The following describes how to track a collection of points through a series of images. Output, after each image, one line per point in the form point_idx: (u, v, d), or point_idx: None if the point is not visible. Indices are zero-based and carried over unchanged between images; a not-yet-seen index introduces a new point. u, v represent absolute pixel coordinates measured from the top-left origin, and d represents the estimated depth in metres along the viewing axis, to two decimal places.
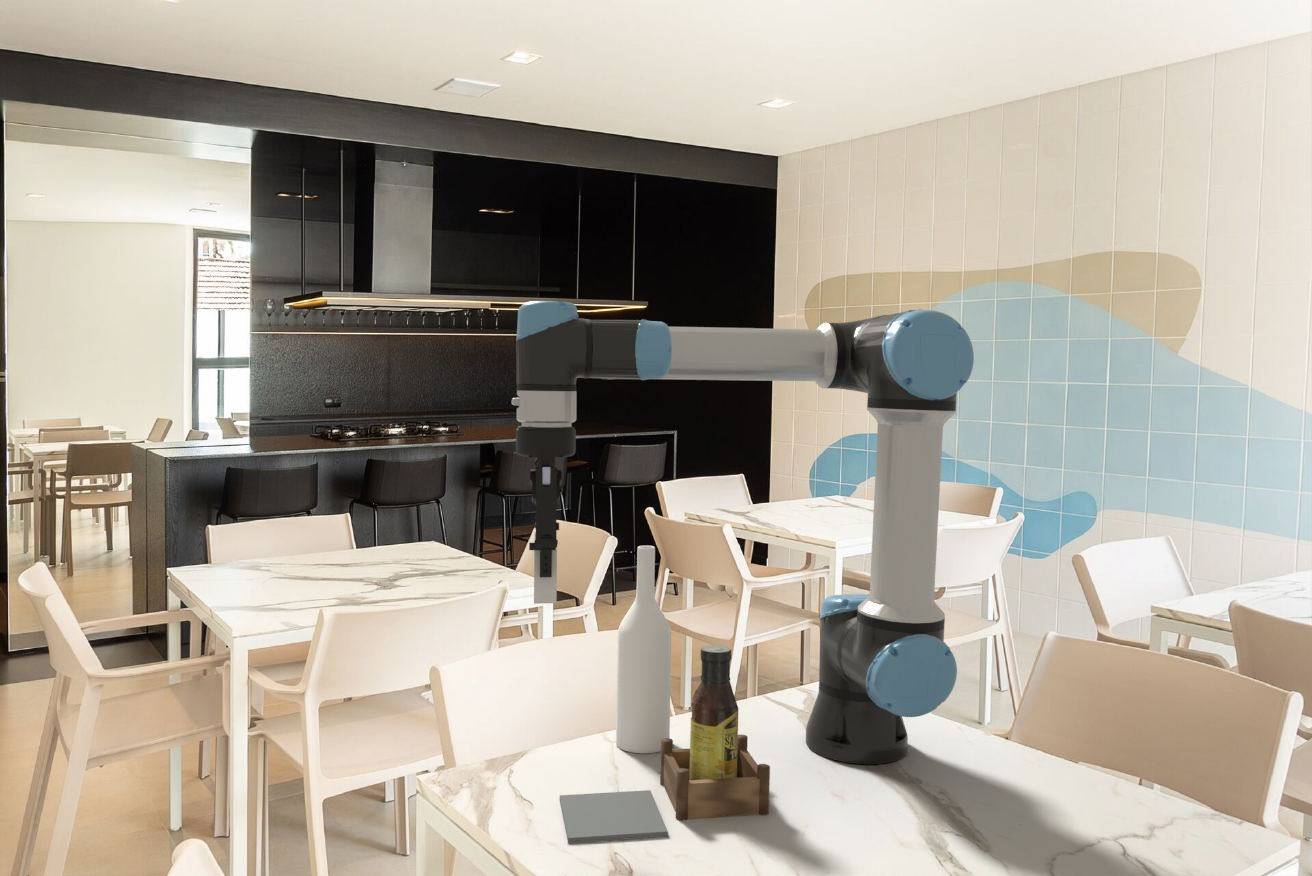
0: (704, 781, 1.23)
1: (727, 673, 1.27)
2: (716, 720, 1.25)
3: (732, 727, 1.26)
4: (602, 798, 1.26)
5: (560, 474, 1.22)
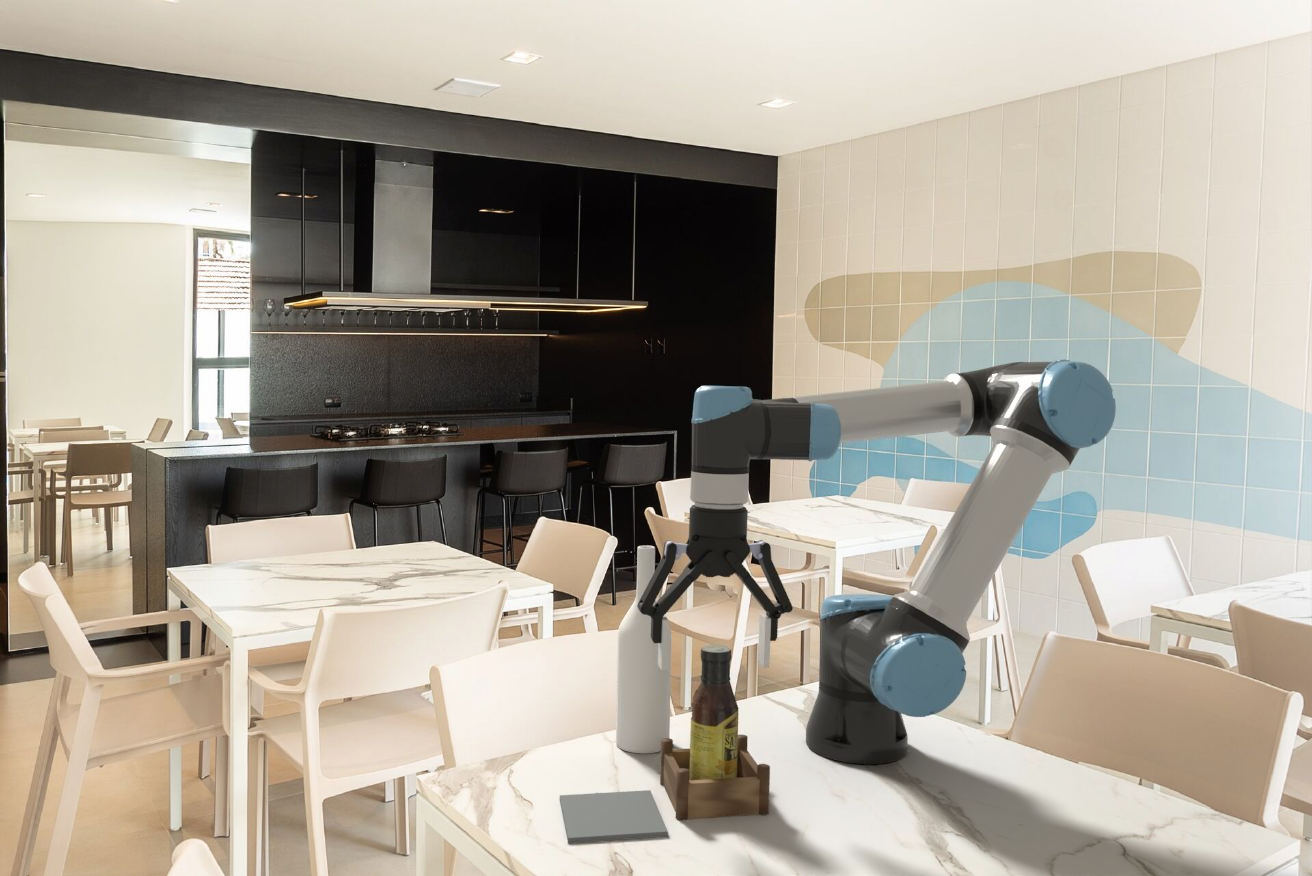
0: (704, 781, 1.23)
1: (727, 673, 1.27)
2: (717, 720, 1.25)
3: (732, 727, 1.26)
4: (602, 798, 1.26)
5: (706, 554, 1.25)
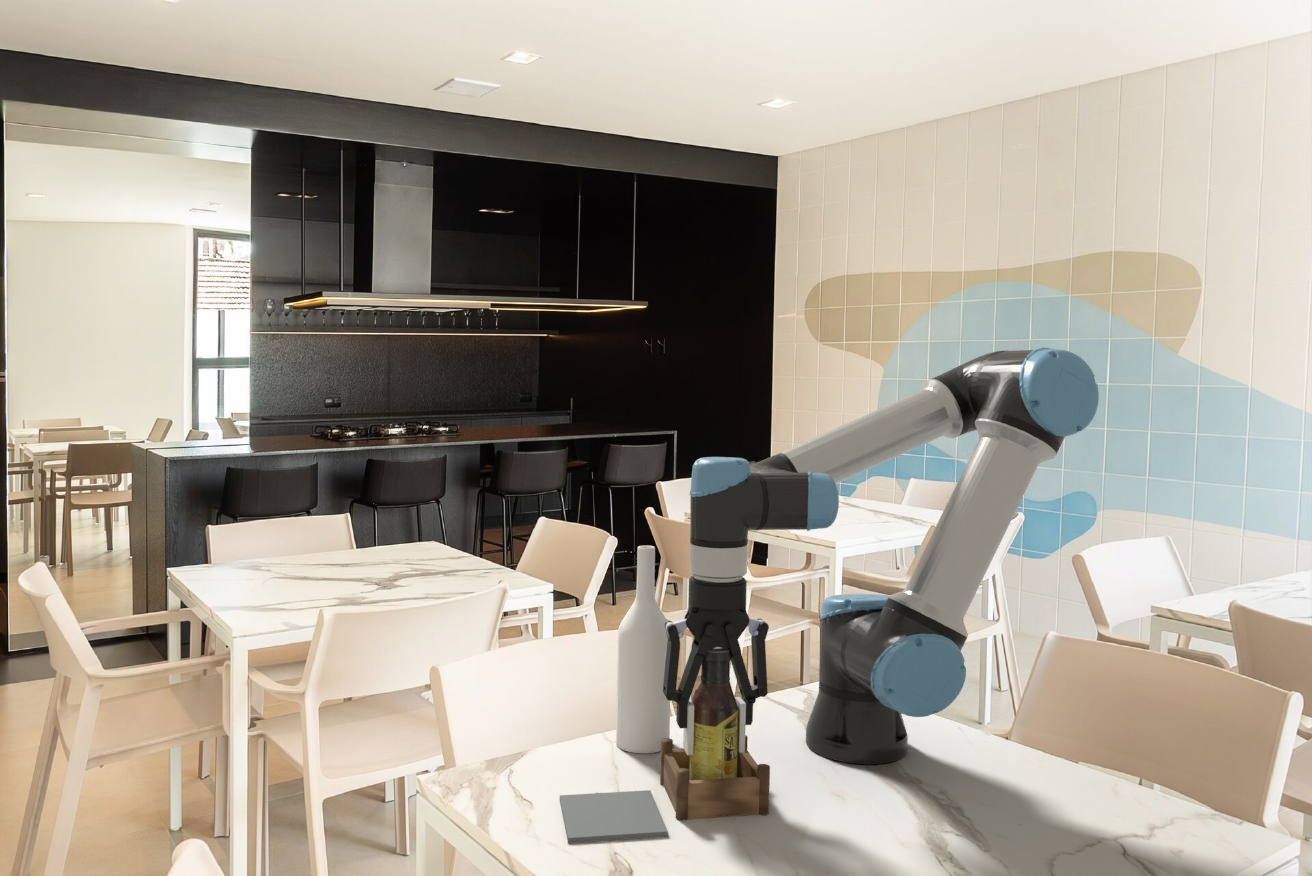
0: (704, 781, 1.23)
1: (727, 673, 1.27)
2: (716, 720, 1.25)
3: (732, 727, 1.26)
4: (602, 798, 1.26)
5: (705, 628, 1.25)
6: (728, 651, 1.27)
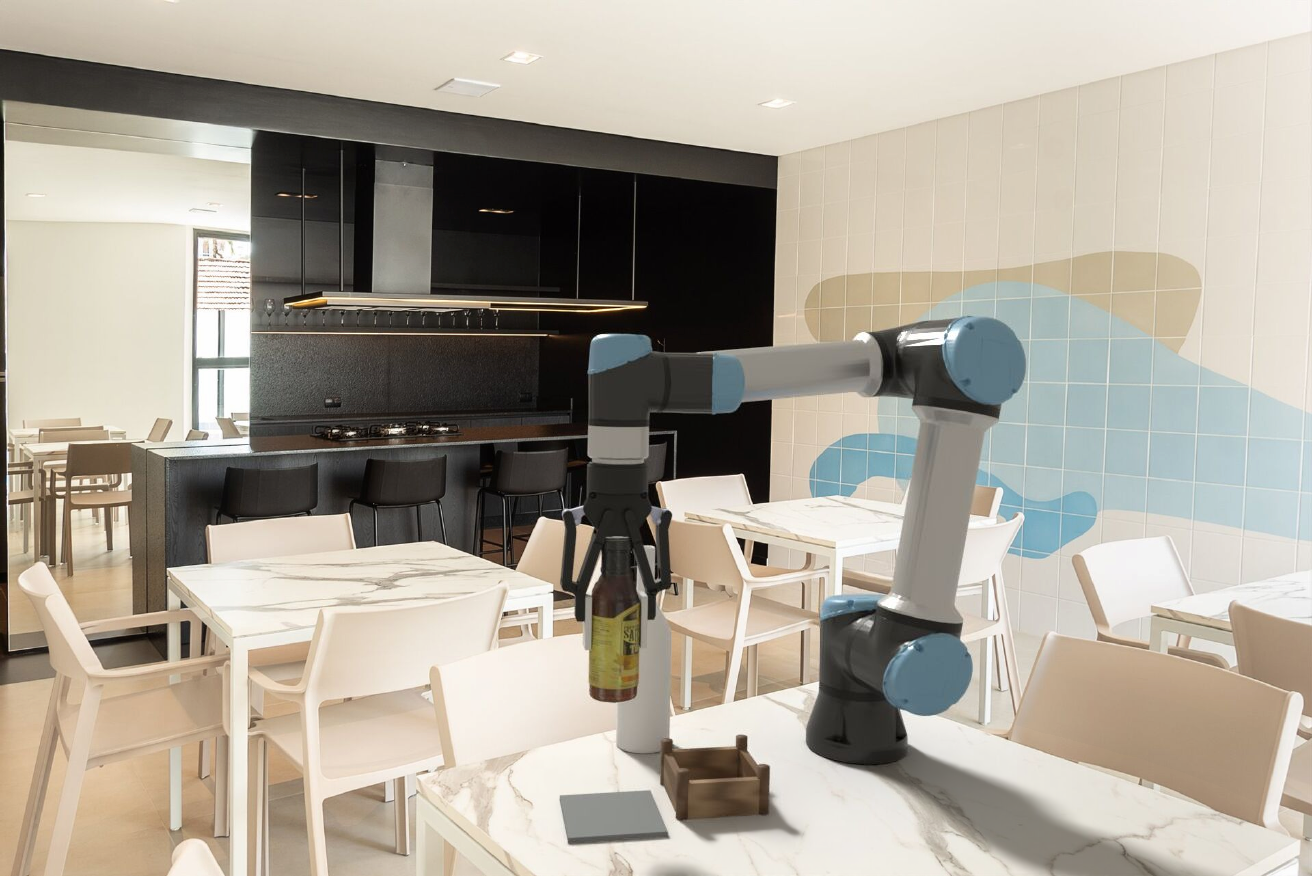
0: (704, 781, 1.23)
1: (627, 563, 1.20)
2: (615, 611, 1.18)
3: (632, 619, 1.19)
4: (602, 798, 1.26)
5: (603, 514, 1.18)
6: (629, 540, 1.20)
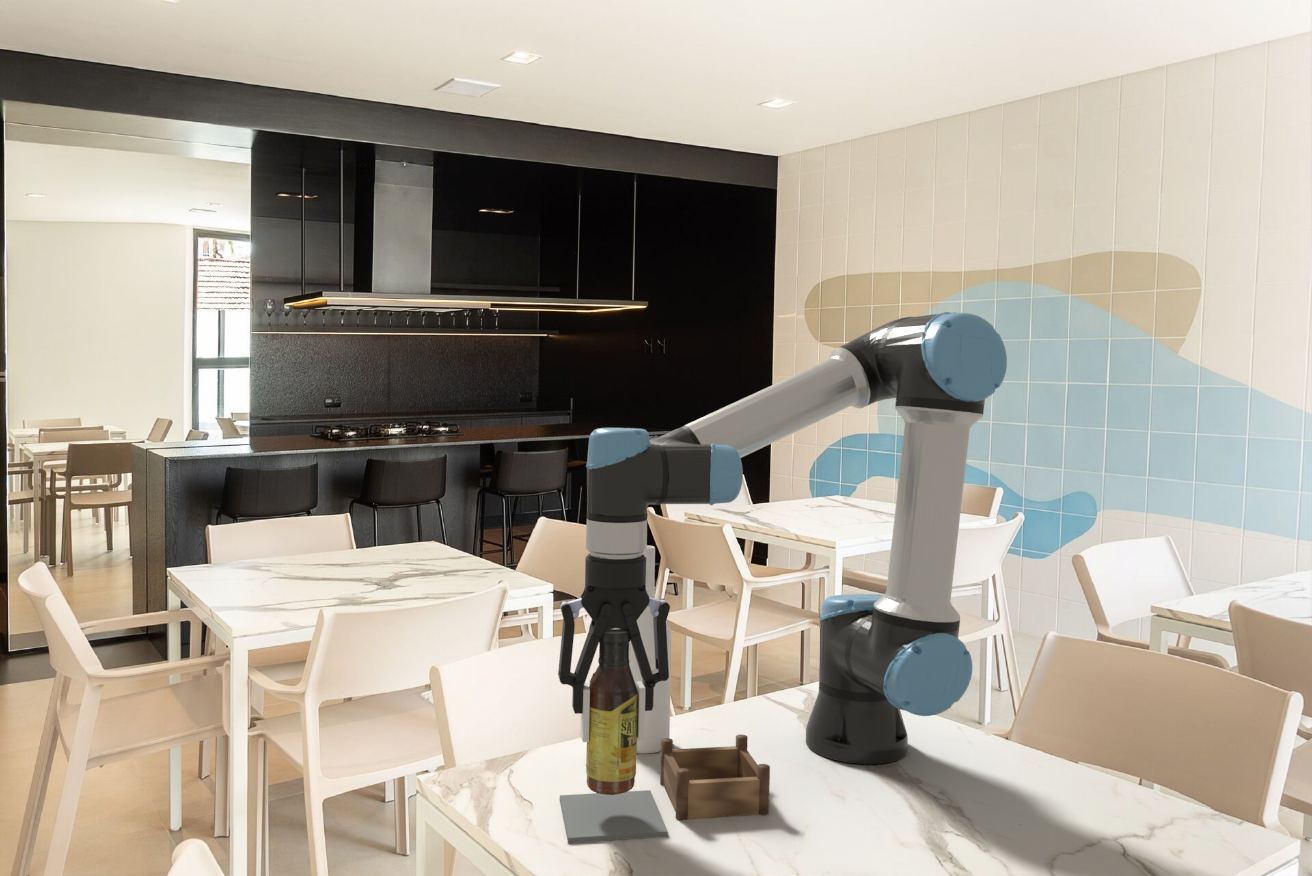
0: (704, 781, 1.23)
1: (625, 655, 1.21)
2: (612, 704, 1.19)
3: (630, 712, 1.19)
4: (602, 798, 1.26)
5: (601, 607, 1.19)
6: (627, 632, 1.20)
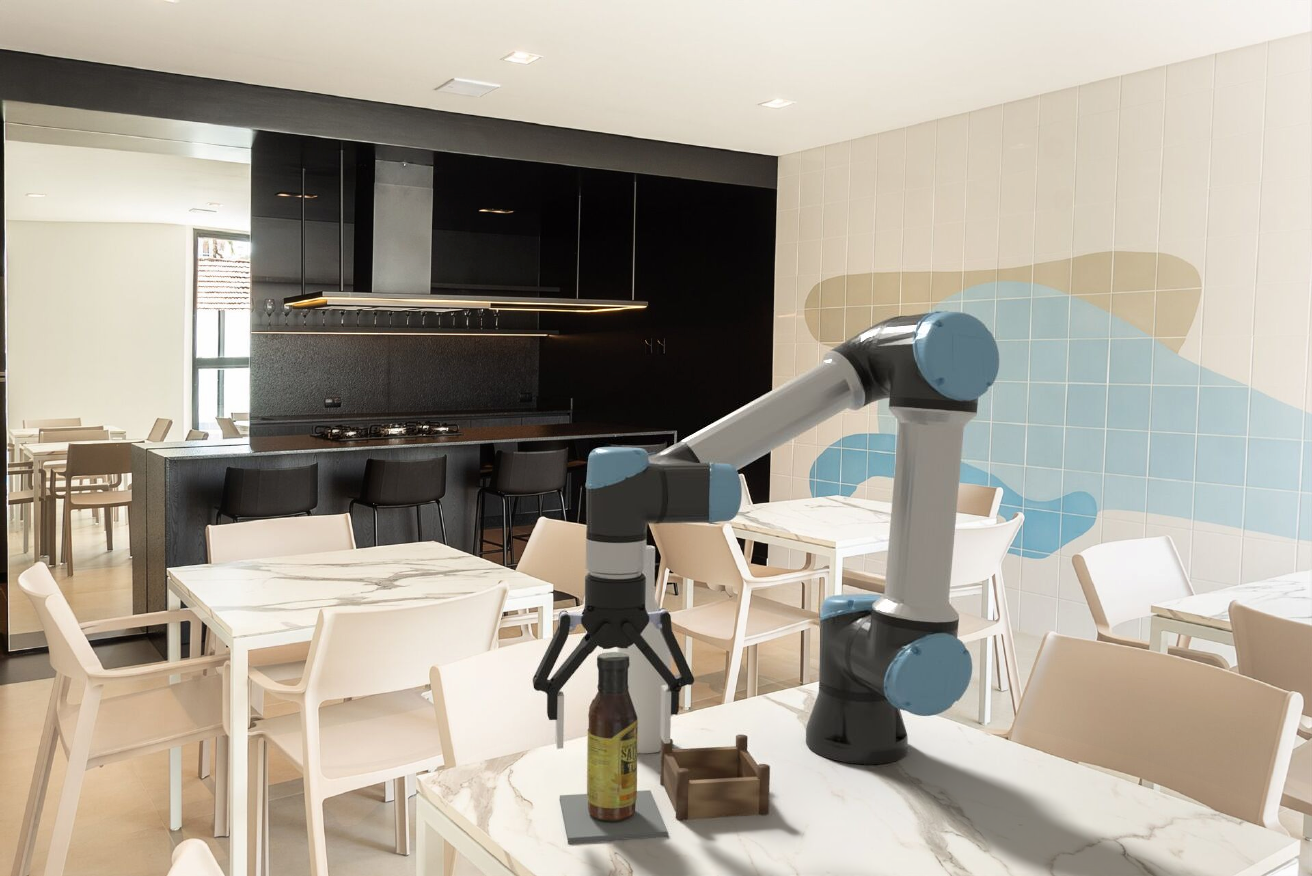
0: (704, 781, 1.23)
1: (624, 682, 1.21)
2: (612, 731, 1.19)
3: (630, 738, 1.20)
4: None
5: (601, 625, 1.19)
6: (625, 658, 1.20)
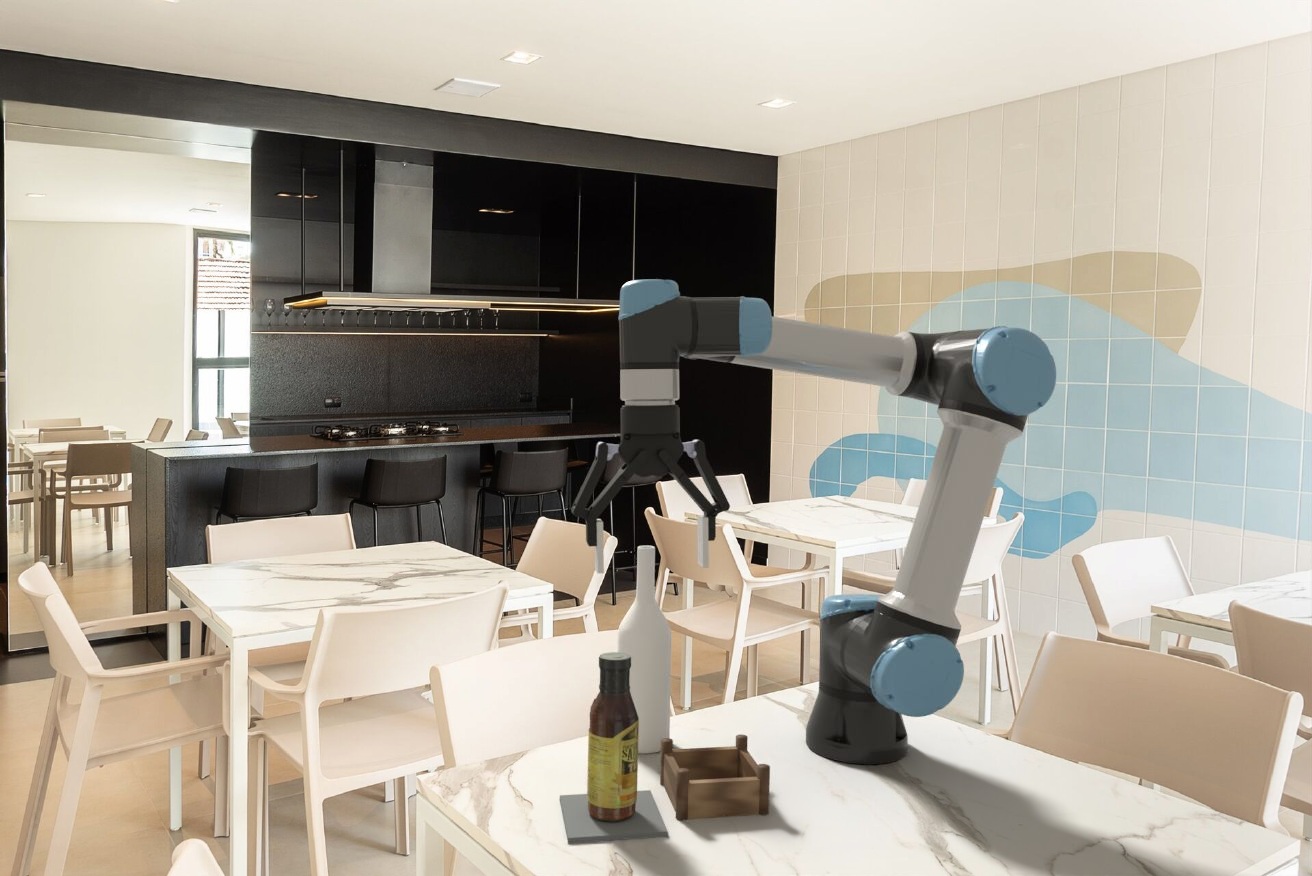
0: (704, 781, 1.23)
1: (626, 682, 1.21)
2: (613, 731, 1.19)
3: (630, 738, 1.20)
4: None
5: (639, 452, 1.22)
6: (627, 659, 1.21)
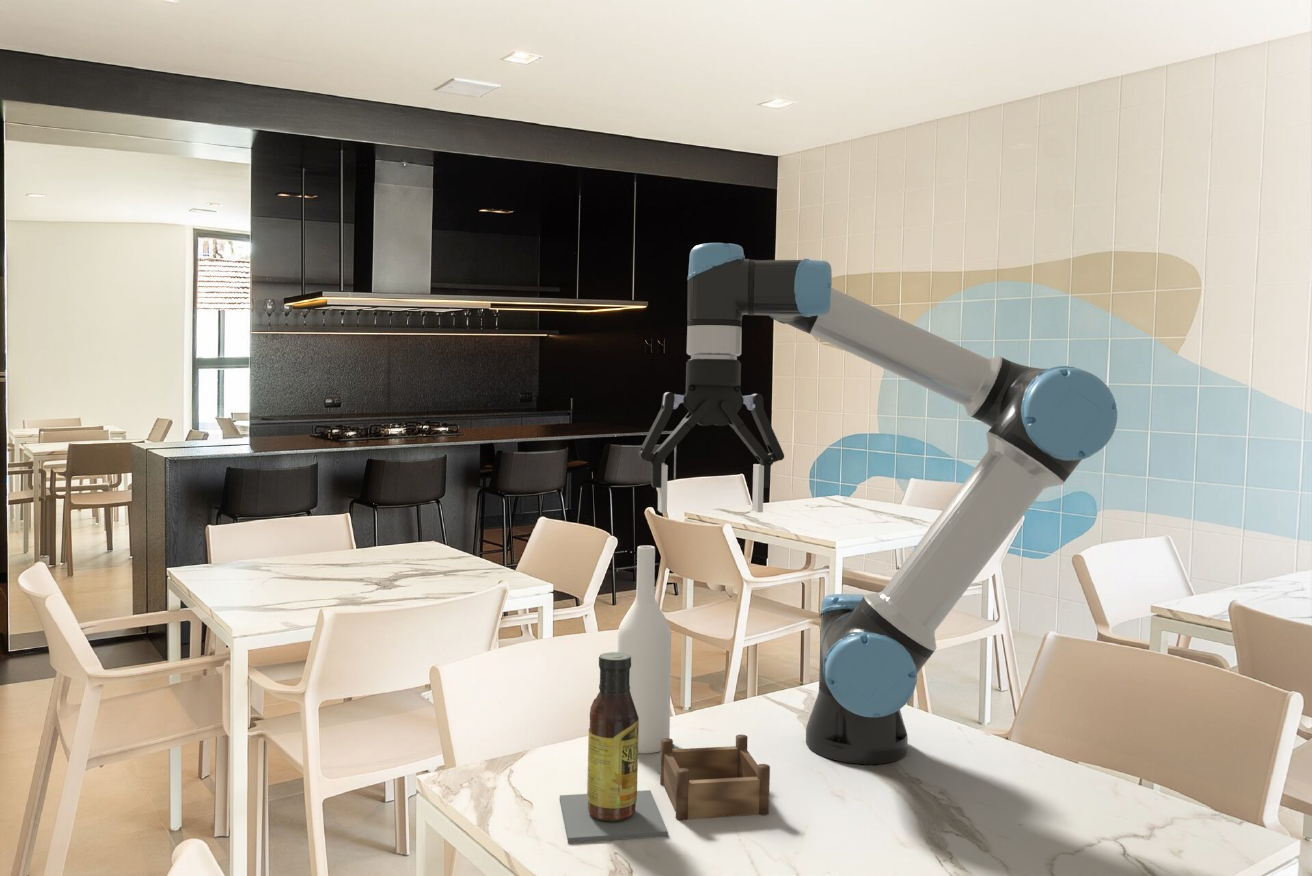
0: (704, 781, 1.23)
1: (626, 682, 1.21)
2: (613, 731, 1.19)
3: (630, 738, 1.20)
4: None
5: (702, 402, 1.33)
6: (627, 659, 1.21)
